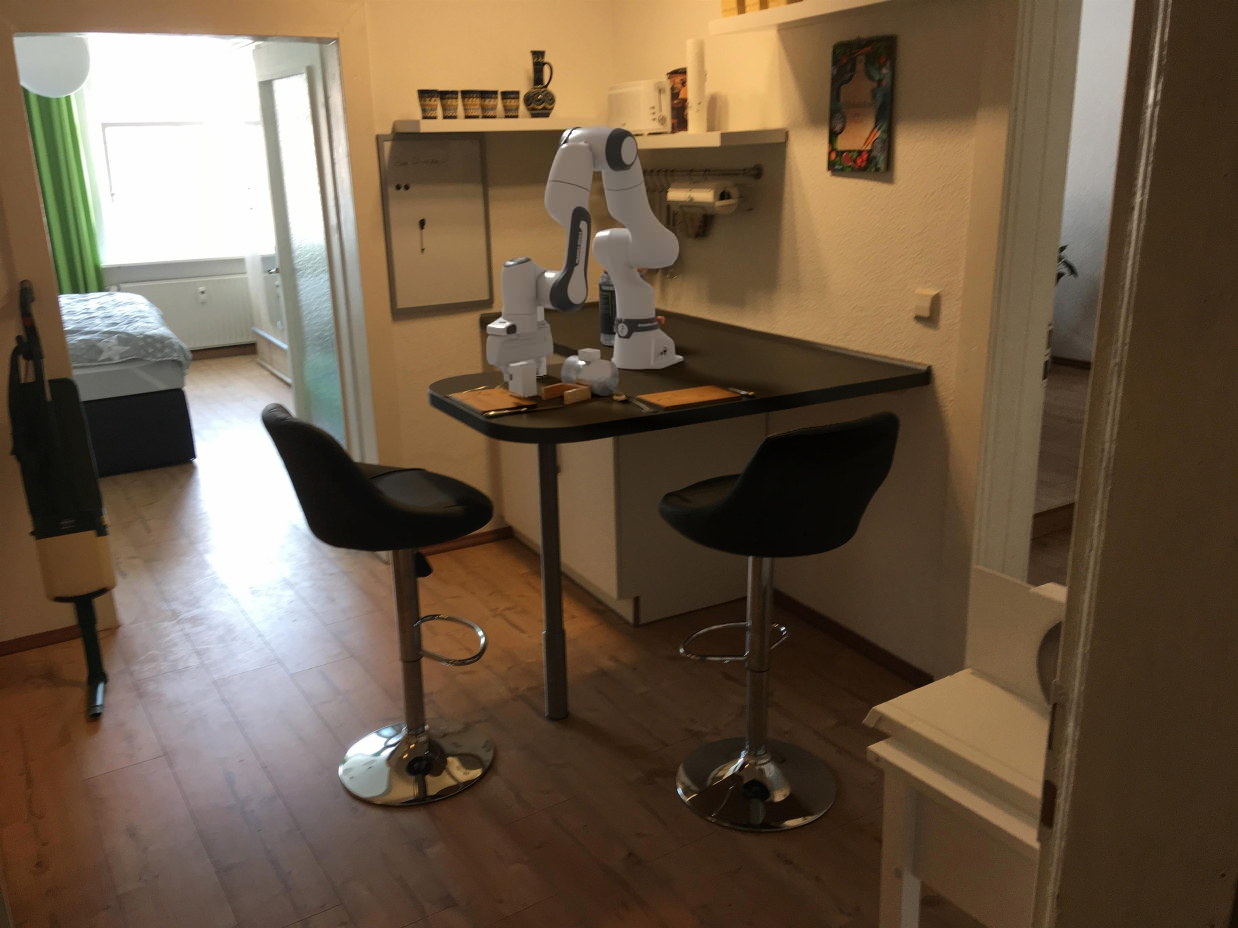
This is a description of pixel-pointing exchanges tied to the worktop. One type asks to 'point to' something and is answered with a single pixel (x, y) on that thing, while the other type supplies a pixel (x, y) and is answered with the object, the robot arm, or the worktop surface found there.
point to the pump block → (523, 379)
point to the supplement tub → (609, 307)
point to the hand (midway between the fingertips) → (522, 378)
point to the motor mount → (584, 377)
